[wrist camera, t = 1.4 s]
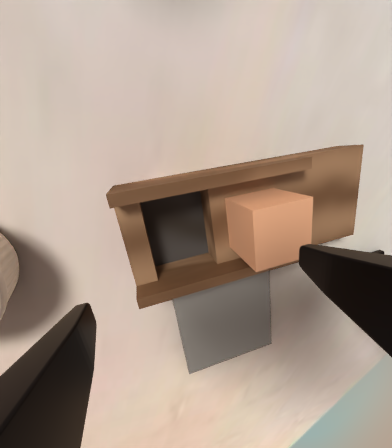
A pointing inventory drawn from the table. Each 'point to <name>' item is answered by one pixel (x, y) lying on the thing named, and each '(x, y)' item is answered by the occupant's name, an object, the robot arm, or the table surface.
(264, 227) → the block
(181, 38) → the table surface
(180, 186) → the divided wooden tray
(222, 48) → the table surface
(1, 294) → the ramekin
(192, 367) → the mat
